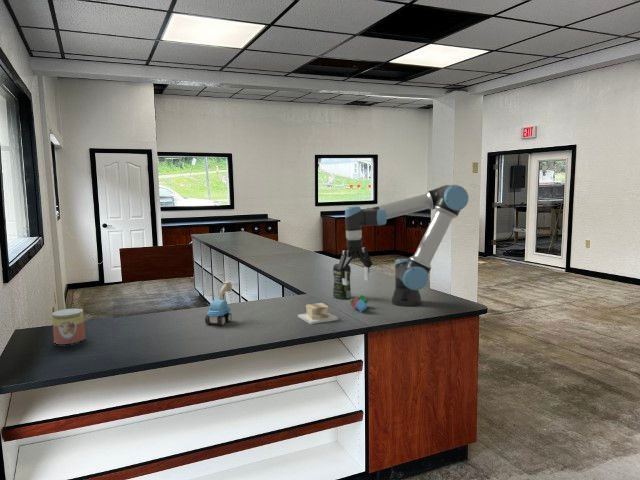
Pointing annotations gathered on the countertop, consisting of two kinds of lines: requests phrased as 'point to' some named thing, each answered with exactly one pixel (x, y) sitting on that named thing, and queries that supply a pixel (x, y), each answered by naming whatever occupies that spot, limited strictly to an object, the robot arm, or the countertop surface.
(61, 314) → the canned food
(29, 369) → the countertop surface
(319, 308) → the maple brick
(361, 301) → the building blocks
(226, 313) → the toy excavator
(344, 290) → the coffee jar
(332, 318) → the plate
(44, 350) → the countertop surface
